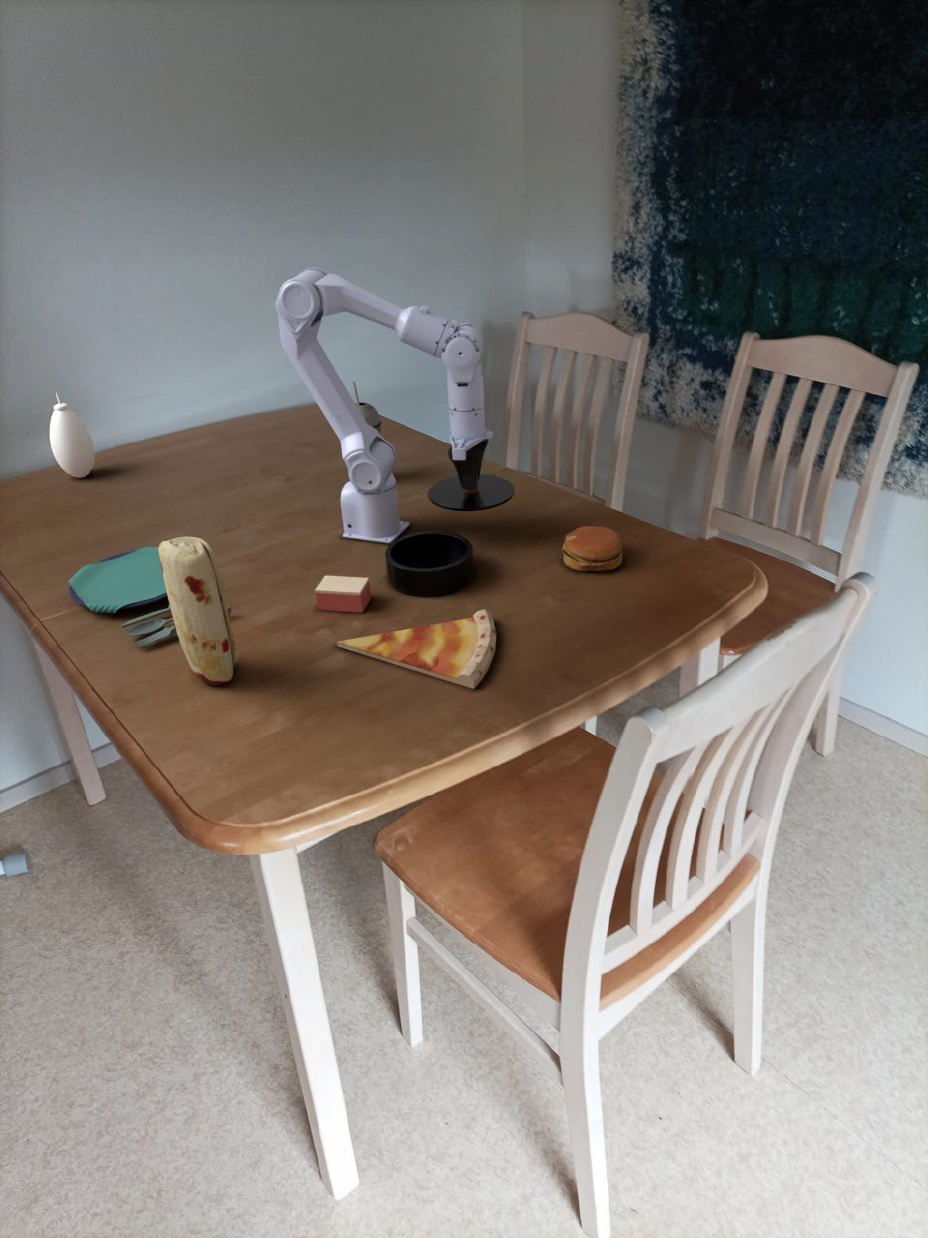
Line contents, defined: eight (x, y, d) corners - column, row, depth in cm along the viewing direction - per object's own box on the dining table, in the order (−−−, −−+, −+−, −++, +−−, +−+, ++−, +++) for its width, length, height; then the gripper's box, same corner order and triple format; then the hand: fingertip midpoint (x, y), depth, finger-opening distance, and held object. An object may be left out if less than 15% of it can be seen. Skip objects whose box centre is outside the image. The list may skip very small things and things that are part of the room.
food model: (175, 670, 119) (140, 538, 109) (219, 650, 123) (189, 521, 112) (210, 700, 113) (175, 563, 102) (255, 678, 117) (226, 544, 106)
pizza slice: (400, 596, 133) (399, 585, 132) (530, 630, 123) (530, 618, 122) (337, 647, 122) (335, 635, 121) (474, 689, 112) (473, 676, 111)
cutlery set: (174, 546, 152) (171, 535, 151) (246, 613, 131) (243, 600, 130) (57, 584, 143) (53, 571, 141) (114, 662, 122) (110, 649, 120)
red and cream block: (318, 610, 131) (314, 589, 129) (328, 595, 135) (325, 575, 133) (362, 612, 130) (359, 592, 128) (371, 597, 133) (368, 577, 132)
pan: (373, 589, 136) (370, 564, 133) (410, 551, 146) (407, 526, 144) (454, 602, 131) (452, 576, 129) (486, 561, 142) (484, 536, 139)
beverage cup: (394, 476, 175) (384, 376, 164) (372, 489, 170) (361, 387, 159) (365, 470, 178) (354, 372, 168) (343, 483, 173) (330, 383, 163)
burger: (632, 567, 137) (634, 540, 135) (579, 579, 135) (579, 552, 133) (604, 542, 145) (605, 516, 143) (553, 553, 143) (552, 527, 141)
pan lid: (414, 509, 144) (411, 480, 141) (448, 476, 155) (446, 448, 153) (497, 519, 139) (496, 489, 136) (526, 484, 150) (525, 456, 148)
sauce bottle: (86, 466, 189) (62, 383, 179) (108, 473, 185) (84, 389, 175) (54, 478, 183) (27, 394, 174) (75, 485, 179) (49, 399, 170)
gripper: (482, 421, 132) (485, 504, 139) (499, 392, 144) (501, 469, 151) (437, 420, 134) (442, 502, 141) (457, 391, 146) (461, 468, 153)
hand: (470, 485), depth 146 cm, fingers closed on pan lid, 2 cm apart
